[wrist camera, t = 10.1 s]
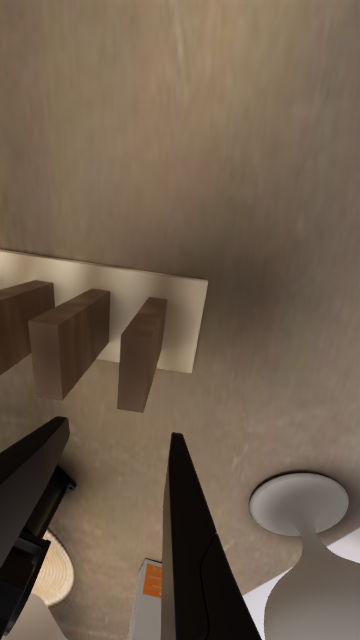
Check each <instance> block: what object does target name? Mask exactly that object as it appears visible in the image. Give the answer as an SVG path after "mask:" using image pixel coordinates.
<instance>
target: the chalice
mask: <svg viewBox="0 0 360 640" xmlns="http://www.w3.org/2000/svg"><path fill="white" fill-rule="evenodd" d="M348 505H349V499H348V494H347V493H346V491H345V489H344V488H343V487H342V486H341V485H340V484H339V483H338V482H336V481H334V480H332V479H331V478H328V477H325V476H322V475H319V474H311V473H294V474H288V475H283V476H280V477H277V478H274V479H272V480H270V481H268V482H266V483H264V484H263V485H262V486H260V487H259V488H258V489H257V490H256V491H255V492H254V494H253V495H252V497H251V500H250V503H249V510H250V513H251V516H252V517H253V519H254V520H255V521H256V522H257V523H258V524H259V525H261V526H262V527H263V528H265V529H267V530H269V531H271V532H274V533H277V534H281V535H287V536H301V537H302V543H303V550H302V555H301V557H300V560H299V561H298V562H297V564H296V565H295V566H294V567H293V568H292V569H291V570H289V572H287V573H286V574H285V575H284V576H283V577H282V578H281V579H280V580H279V581H278V582H277V583H276V585H275V586H274V588H273V589H272V591H271V593H270V595H269V596H268V600H267V603H266V607H265V614H264V633H265V639H266V640H360V564H359V563H356V562H354V561H350V560H348V559H345V558H342V557H340V556H338V555H336V554H334V553H333V552H331V551H330V550H329V549H328V548H327V547H326V546H325V545H324V544H323V543H322V542H321V540H320V539H319V537H318V536H317V533H319V532H322V531H325V530H327V529H329V528H331V527H332V526H334V525H336V524H337V523H338V522H339V521H340V520H341V519H342V518H343V517H344V515H345V513H346V512H347V509H348Z"/></svg>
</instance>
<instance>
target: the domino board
mask: <svg viewBox="0 0 360 640" xmlns="http://www.w3.org/2000/svg"><path fill="white" fill-rule="evenodd" d="M33 280H39V281H46V282H52V283H54V299H55V307H56V306H58V305H60V304H62V303H64V302H66V301H68V300H70V299H72V298H74V297H76V296H78V295H80V294H82V293H84V292H86V291H88V290H90V289H92V288H93V289H100V290H107V291H110V322H109V343H108V344H107V346H106V347H105V348H104V349H103V350H102V352H101V353H100V354H99V355H98V357H97V358H96V359H100V360H106V361H113V362H120V342H121V334H122V333H123V331H124V330H125V329H126V327H127V326H128V325H129V323H130V322H131V321H132V319H133V318H134V316H135V315H136V314H137V312H138V311H139V310H140V308H141V307H142V306H143V304H144V303H145V302H146V300H147V299H148V298H149V297H154V298H161V299H167V307H166V316H165V324H164V332H163V340H162V348H161V353H160V356H159V360H158V363H157V367H156V368H159V369H166V370H172V371H179V372H185V373H192V368H193V363H194V357H195V352H196V346H197V341H198V335H199V330H200V325H201V319H202V314H203V308H204V303H205V298H206V292H207V287H208V280H202V279H196V278H189V277H182V276H176V275H169V274H162V273H155V272H149V271H142V270H135V269H129V268H122V267H115V266H108V265H102V264H95V263H88V262H82V261H75V260H68V259H61V258H55V257H48V256H41V255H35V254H28V253H21V252H15V251H8V250H1V249H0V289H4V288H8V287H11V286H15V285H19V284H22V283H26V282H30V281H33Z"/></svg>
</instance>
